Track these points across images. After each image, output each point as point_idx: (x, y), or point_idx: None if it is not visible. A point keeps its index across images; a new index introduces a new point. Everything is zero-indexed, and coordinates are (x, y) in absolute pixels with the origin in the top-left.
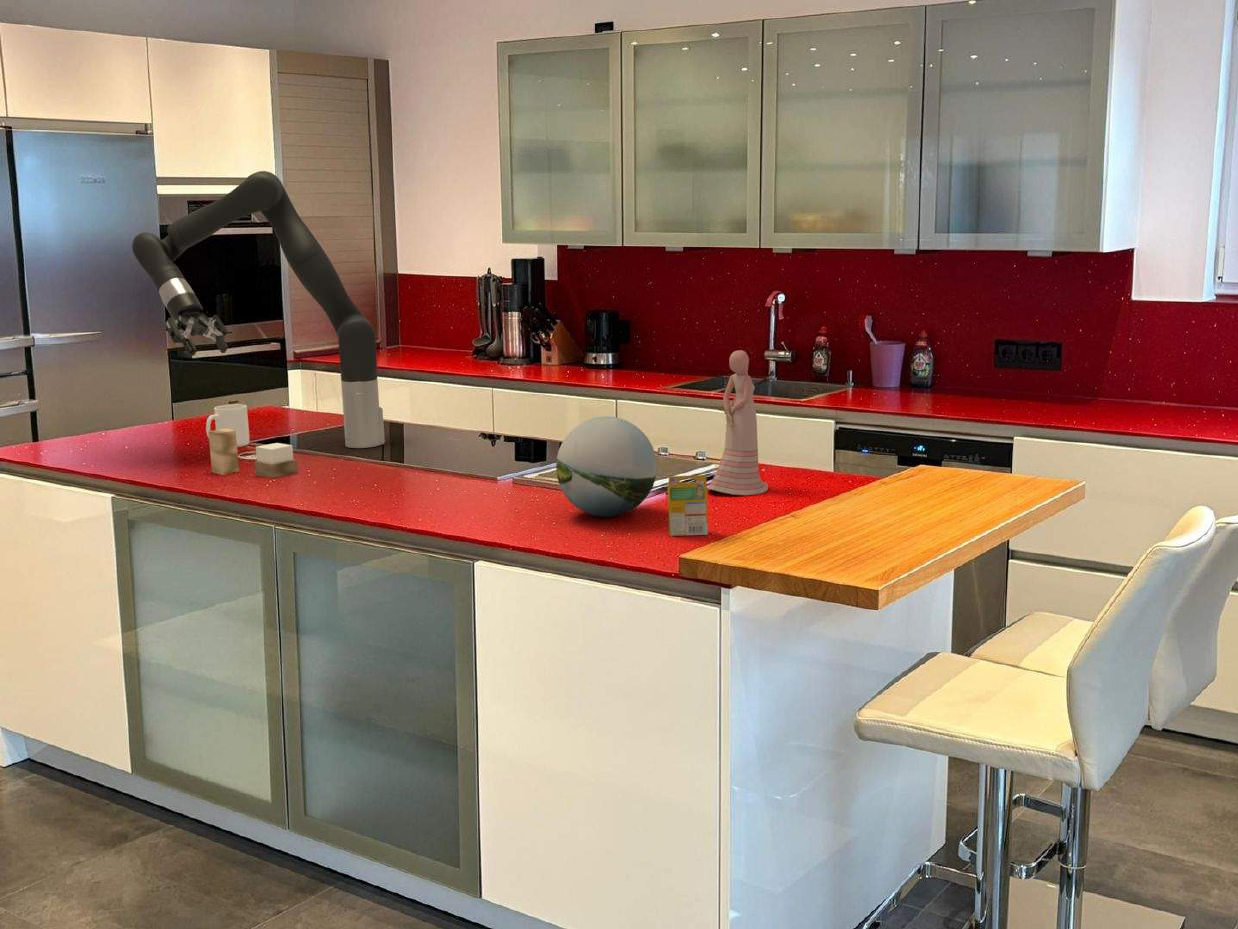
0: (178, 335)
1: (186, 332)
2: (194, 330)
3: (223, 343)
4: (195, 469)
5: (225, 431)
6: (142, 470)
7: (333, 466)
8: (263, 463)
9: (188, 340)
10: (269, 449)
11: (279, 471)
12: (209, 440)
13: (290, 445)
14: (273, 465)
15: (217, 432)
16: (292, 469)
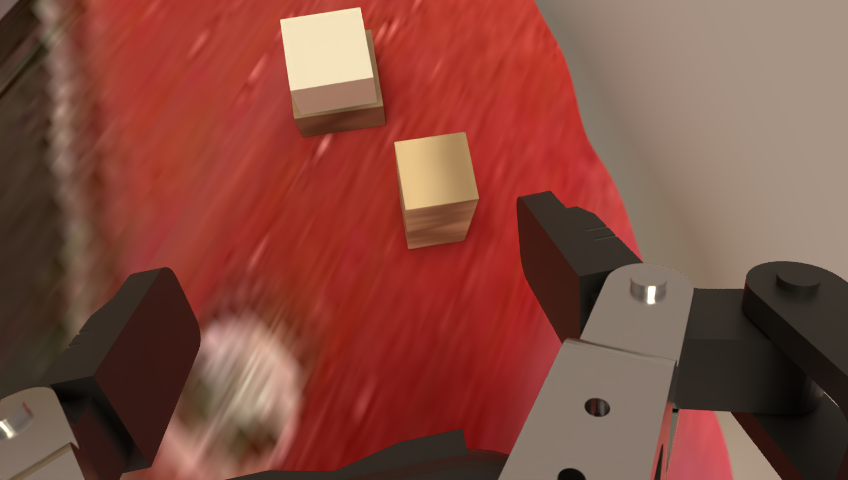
0: (796, 277)
1: (651, 343)
2: (463, 437)
3: (134, 297)
4: (484, 325)
5: (431, 150)
6: None
7: (180, 73)
8: (376, 64)
9: (609, 262)
10: (361, 15)
11: None
12: (474, 208)
13: (284, 22)
14: (365, 31)
15: (462, 152)
16: None
